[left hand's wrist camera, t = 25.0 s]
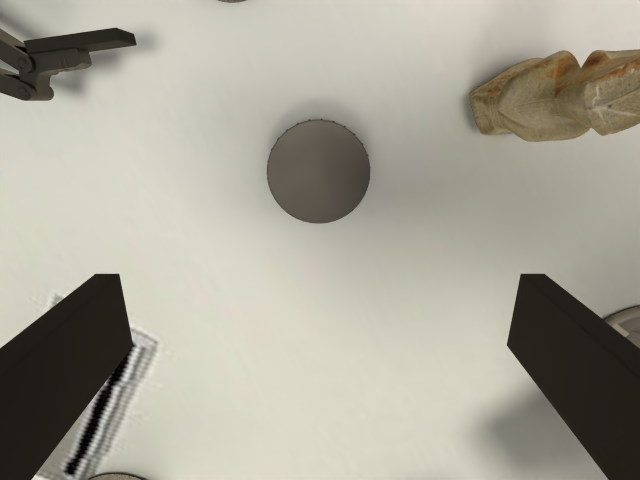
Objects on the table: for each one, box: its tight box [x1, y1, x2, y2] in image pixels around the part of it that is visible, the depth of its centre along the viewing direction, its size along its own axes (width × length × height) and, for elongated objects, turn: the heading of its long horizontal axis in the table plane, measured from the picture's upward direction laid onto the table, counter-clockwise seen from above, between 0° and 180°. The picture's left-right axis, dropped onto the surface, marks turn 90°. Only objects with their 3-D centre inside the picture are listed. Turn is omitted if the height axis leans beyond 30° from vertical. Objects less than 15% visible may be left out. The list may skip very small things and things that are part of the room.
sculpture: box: [469, 50, 640, 142], centre depth 27 cm, size 6×7×15 cm
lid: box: [267, 119, 370, 223], centre depth 36 cm, size 10×10×2 cm
